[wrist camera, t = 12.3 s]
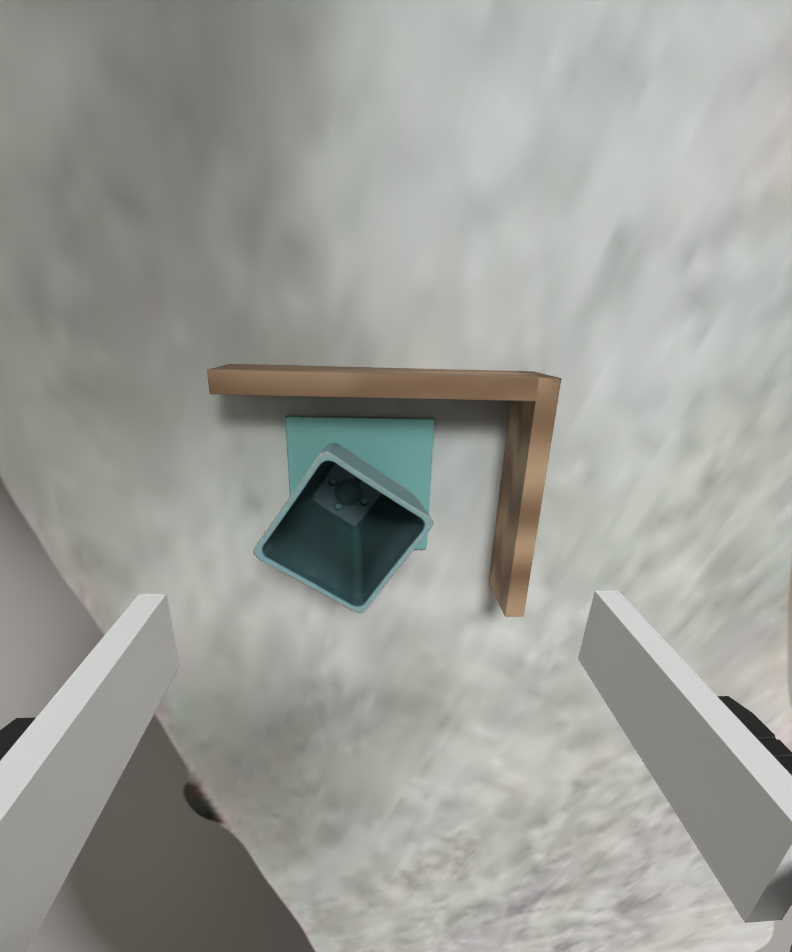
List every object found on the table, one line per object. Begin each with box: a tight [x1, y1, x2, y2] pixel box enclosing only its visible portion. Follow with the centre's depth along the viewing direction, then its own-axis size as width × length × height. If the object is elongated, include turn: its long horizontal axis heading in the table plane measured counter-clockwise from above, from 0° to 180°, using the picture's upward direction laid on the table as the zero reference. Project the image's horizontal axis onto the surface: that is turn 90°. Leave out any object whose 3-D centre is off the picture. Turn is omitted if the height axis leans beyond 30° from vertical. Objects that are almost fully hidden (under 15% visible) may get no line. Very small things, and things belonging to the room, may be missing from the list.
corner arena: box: [207, 364, 561, 617], centre depth 34 cm, size 20×24×5 cm
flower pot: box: [253, 443, 433, 613], centre depth 31 cm, size 9×9×9 cm
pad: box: [286, 416, 434, 549], centre depth 36 cm, size 12×12×1 cm
